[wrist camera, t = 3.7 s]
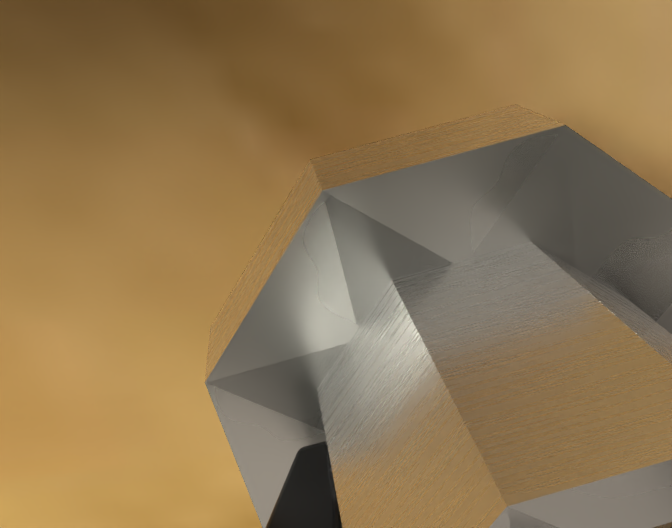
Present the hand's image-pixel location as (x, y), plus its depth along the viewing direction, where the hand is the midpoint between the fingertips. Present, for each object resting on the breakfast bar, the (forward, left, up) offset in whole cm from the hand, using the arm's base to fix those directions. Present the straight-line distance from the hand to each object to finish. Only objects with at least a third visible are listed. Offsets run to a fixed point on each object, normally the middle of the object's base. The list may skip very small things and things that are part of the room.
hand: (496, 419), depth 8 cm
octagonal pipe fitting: (0, 0, -2) cm, 2 cm away
